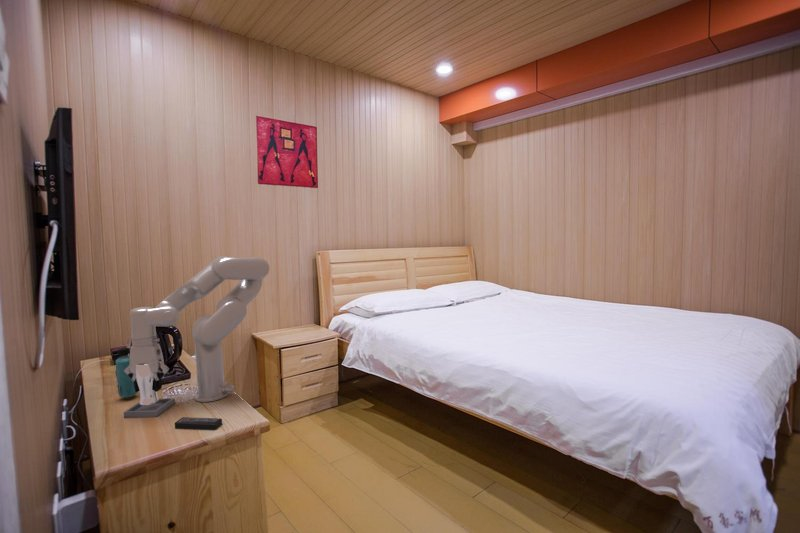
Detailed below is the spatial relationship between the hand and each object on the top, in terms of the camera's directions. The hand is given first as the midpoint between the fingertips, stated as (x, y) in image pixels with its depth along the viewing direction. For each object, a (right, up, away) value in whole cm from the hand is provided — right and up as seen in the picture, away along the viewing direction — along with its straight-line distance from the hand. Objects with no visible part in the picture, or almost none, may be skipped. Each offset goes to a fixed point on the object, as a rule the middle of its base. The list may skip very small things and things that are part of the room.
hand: (148, 389), depth 152 cm
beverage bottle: (-15, -7, +13) cm, 21 cm away
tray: (0, -8, +1) cm, 8 cm away
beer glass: (0, -5, 0) cm, 5 cm away
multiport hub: (+25, -9, -13) cm, 29 cm away
